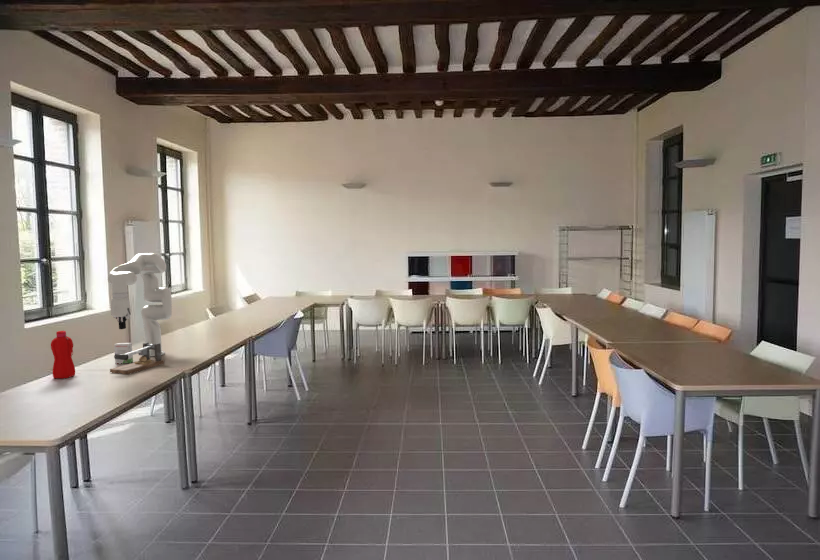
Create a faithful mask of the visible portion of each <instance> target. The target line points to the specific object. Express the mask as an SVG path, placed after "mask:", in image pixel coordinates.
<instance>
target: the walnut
mask: <svg viewBox="0 0 820 560" xmlns="http://www.w3.org/2000/svg"><path fill="white" fill-rule="evenodd" d="M138 361H140V362H145V361H147V358H146V357H145V356H143V355H140V357H139V358H138Z"/></svg>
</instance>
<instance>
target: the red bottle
mask: <svg viewBox="0 0 820 560" xmlns="http://www.w3.org/2000/svg"><path fill="white" fill-rule="evenodd" d="M50 349H51V352H52V355H53V359H54V360H53V365H52V377H53V378H54V379H60V380H61V379H63V380H64V378H65V379H68V378H71V377H74V376H75V375H76V369H75V364H74V361H73V357H72V356H73V355H74V342H73V338H71V337H70V336H67V332H66V330H58V331H56V337H55V338H53V339H52V340H51V342H50Z"/></svg>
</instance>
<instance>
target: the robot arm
mask: <svg viewBox="0 0 820 560" xmlns="http://www.w3.org/2000/svg"><path fill="white" fill-rule="evenodd" d="M166 271H167V264H166V262H165V260H164V259H163V258H162V257H161V256H160V255H159V254H158V253H153V252H149V253H148V252H144V253H143V252H142V253H137V254H135V255H134V256H133V257H132V258H131V259H130V260H129V261H128V262H126V263H124V264H120V265H117V266H116V267H114V268H113V269H112V270H111V271H110V272H109V273H108V276H107V282H108V283H109V285H111V296H112V298H111V301H110V315H111V317H113V318H114V319H116V320H117V323H118V329H119V330H124V329H126V328H127V326H126V325H127V320H128V319H131V315H132V309H131V302H130V299H129V295H128V294H129V292H128V286H133V285H134V284H136V282H137V280H138V277H137V275H140V276H141V278H142V282H143V299H144V301H145V302H146V303H150V304H147V305H144V306H143V307H142V308H141V309H140V310H141V311H140V313H141V314H140V315H141V318H142V321H143V333H144V343H149V344H157V343H160V345H161V356H163V355H165V354H166V353H165V352H166V351H164V350H163V348H162V346H163V345H162V331H161V325H160V323H159V322H158V321H161V320H169V319H171V317H172V312H173V311H172V309H173V308H172V307H173V306H172V304H173V303H172V299H173V298H172V291H171V289H170V288H169V287H166V286H162V287H160V286H159V278H158V276H157V275H156V274H163V273H165V272H166ZM151 303H152V304H151ZM153 303H162V304H153ZM149 353H150V357H155V350H149Z"/></svg>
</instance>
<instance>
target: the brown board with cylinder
mask: <svg viewBox="0 0 820 560" xmlns="http://www.w3.org/2000/svg"><path fill="white" fill-rule="evenodd" d="M146 344H149V343H145V342H143V343H142V348H144V347H145V346H146ZM161 345H162V344H161ZM161 345H160V343H157V344H154V346H155V356H154V358H153V359H151V358H150V357H151V356H150V353H149V350H147V354H146V355H142V356H145V357H146V358H147V361H145V362H140V361H139V360H136V361H133V362H132V363H129V364H122V365H120V366H117V367H116V366H115V367H113V368H110V369H109V373H110V372H112V373H111V374H119V373H122V375H131V374H134V372H135V373H137V371H138V372H140V371H141V372H142V371H144V370H148V369H151V368H153V367H158V366H161V365H164V364H165V360H164V359H162V355H161ZM130 373H131V374H130Z"/></svg>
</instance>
